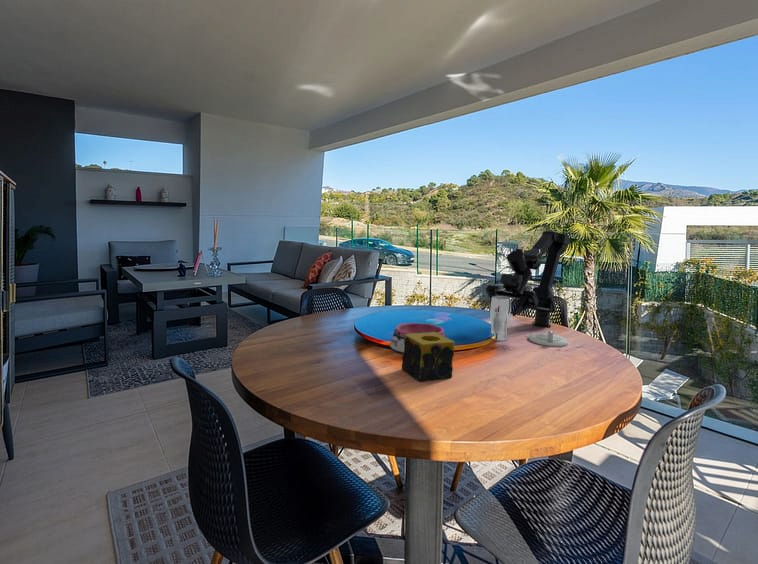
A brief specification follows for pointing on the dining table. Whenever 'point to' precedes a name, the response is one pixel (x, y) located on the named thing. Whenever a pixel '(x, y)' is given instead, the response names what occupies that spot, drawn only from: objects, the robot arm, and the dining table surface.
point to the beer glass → (500, 316)
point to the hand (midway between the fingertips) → (501, 313)
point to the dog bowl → (411, 328)
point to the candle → (428, 356)
